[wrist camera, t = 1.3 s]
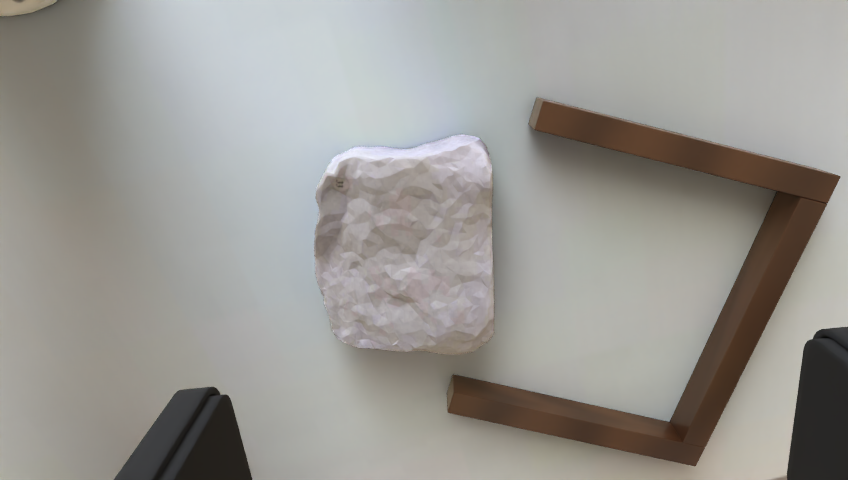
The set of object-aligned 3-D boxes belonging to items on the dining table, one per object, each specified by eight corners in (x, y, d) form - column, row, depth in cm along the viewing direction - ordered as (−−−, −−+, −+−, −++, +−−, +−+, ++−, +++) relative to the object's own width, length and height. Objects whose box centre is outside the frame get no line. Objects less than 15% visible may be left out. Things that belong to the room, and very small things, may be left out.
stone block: (347, 322, 36) (503, 328, 34) (318, 359, 32) (495, 369, 29) (326, 136, 33) (498, 129, 30) (289, 148, 28) (488, 141, 26)
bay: (446, 393, 36) (447, 412, 34) (536, 96, 30) (543, 100, 28) (682, 445, 37) (695, 466, 35) (816, 168, 31) (841, 176, 29)
